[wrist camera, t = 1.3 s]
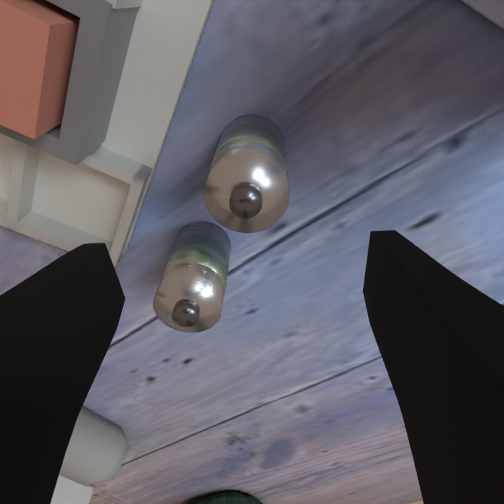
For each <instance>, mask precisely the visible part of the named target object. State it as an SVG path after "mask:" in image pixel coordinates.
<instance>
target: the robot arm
mask: <svg viewBox="0 0 504 504" xmlns="http://www.w3.org/2000/svg"><path fill="white" fill-rule="evenodd" d="M461 1H463V2H464V3H466V4H467V5H468V6H470V7H471V8H473V9H474V10H476V11H477V12H479V13H480V14H482V15H483V16H485V17H486V18H487V19H489V20H490V21H492V22H493V23H495V24H496V25H498V26H499V27H501V28H502V29H504V0H461ZM363 293H364V298H365V303H366V308H367V313H368V317H369V321H370V325H371V328H372V331H373V333H374V336H375V339H376V342H377V345H378V347H379V350H380V353H381V356H382V358H383V361H384V364H385V367H386V369H387V372H388V375H389V378H390V380H391V383H392V386H393V389H394V391H395V394H396V397H397V400H398V403H399V406H400V409H401V413H402V416H403V420H404V423H405V427H406V431H407V435H408V439H409V443H410V447H411V451H412V455H413V459H414V464H415V468H416V472H417V476H418V481H419V485H420V489H421V494H422V498H423V502H424V504H504V306H503V305H501V304H500V303H498V302H496V301H495V300H493V299H491V298H490V297H488V296H487V295H485V294H484V293H482V292H480V291H479V290H477V289H476V288H474V287H473V286H471V285H470V284H468V283H467V282H465V281H464V280H462V279H461V278H459V277H458V276H456V275H455V274H454V273H452V272H451V271H449V270H448V269H446V268H445V267H444V266H442V265H441V264H440V263H438V262H437V261H436V260H434V259H433V258H431V257H430V256H429V255H427V254H426V253H425V252H423V251H422V250H421V249H420V248H418V247H417V246H416V245H414V244H413V243H412V242H410V241H409V240H408V239H406V238H405V237H404V236H402V235H401V234H399V233H398V232H396V231H395V230H389V231H371V233H370V241H369V248H368V256H367V264H366V271H365V279H364V287H363ZM124 301H125V296H124V293H123V291H122V288H121V285H120V282H119V280H118V277H117V274H116V271H115V268H114V266H113V263H112V260H111V257H110V255H109V252H108V249H107V246H106V243H85V244H82V245H80V246H78V247H76V248H75V249H73V250H71V251H69V252H68V253H66V254H65V255H63V256H61V257H60V258H58V259H57V260H55V261H53V262H52V263H50V264H49V265H47V266H46V267H44V268H43V269H41V270H40V271H38V272H37V273H35V274H33V275H32V276H30V277H29V278H27V279H26V280H24V281H23V282H21V283H20V284H18V285H16V286H15V287H13V288H12V289H10V290H8V291H7V292H5V293H3V294H2V295H0V504H51V500H52V497H53V493H54V490H55V487H56V483H57V480H58V477H59V473H60V470H61V467H62V463H63V460H64V457H65V454H66V451H67V448H68V445H69V442H70V439H71V436H72V433H73V430H74V427H75V424H76V421H77V418H78V416H79V413H80V411H81V408H82V406H83V403H84V401H85V399H86V396H87V394H88V392H89V390H90V388H91V385H92V383H93V381H94V379H95V377H96V374H97V372H98V370H99V368H100V366H101V363H102V361H103V359H104V357H105V355H106V352H107V350H108V348H109V346H110V343H111V341H112V339H113V336H114V334H115V332H116V329H117V326H118V323H119V320H120V316H121V313H122V309H123V305H124Z"/></svg>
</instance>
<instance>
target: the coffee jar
mask: <svg viewBox="0 0 504 504" xmlns="http://www.w3.org/2000/svg"><path fill="white" fill-rule="evenodd" d="M188 504H262V503H261V502H260V501H259V500H258V499H257V498H255V497H253V496H246V495H243V494H240V493H237V492H227V493H221V494H216V495H212V496H208V497H204V498H200V499H197V500H194V501H192V502H190V503H188Z"/></svg>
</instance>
